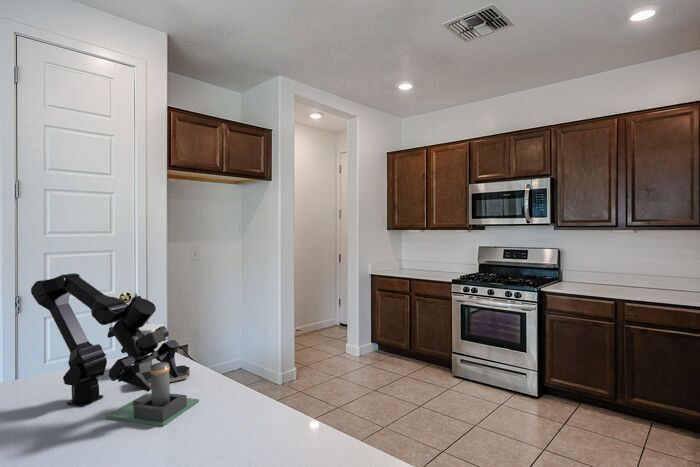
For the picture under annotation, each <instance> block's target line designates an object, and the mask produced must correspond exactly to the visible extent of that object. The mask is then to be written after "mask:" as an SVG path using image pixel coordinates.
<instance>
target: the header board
mask: <svg viewBox="0 0 700 467" xmlns="http://www.w3.org/2000/svg"><path fill="white" fill-rule="evenodd" d="M199 402H200V399H198V398H191V397H187V394H180V393H179V394H178V393H171V392H170V402H169V403H168V404H166V405H165V406H163V407H158V406H152V397H151V393H148V392H147V393H145V394H142V395H141V396H139V397H137V398H135V399H133V400H132V401H129V402H128V403H126V404H124V405H122V406H120V407H118V408H116V409H114V411H111V412H109V413H107V414H106V415H105V419H107V420H108V419H109V420H114V421H115V420H116V421H121V422H122V421H124V422H129V423H136V424H137V423H138V424H142V425H143V424H144V425H151V426H157V427H159V426H160V427H165V426H166V425H167V423H168V424H169V423H171V422H172V421H173V419H174V418H175V419H176V418H178V417H179V416H181V415H183V414H184V413H185V412H186V410H187V411H188V410H190V409H191V408H192V407H194V406H195V405H197V404H198V403H199ZM196 403H197V404H196ZM184 411H185V412H184ZM183 412H184V413H183ZM180 414H181V415H180ZM177 416H178V417H177ZM175 419H174V420H175ZM170 421H171V422H170Z"/></svg>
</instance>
